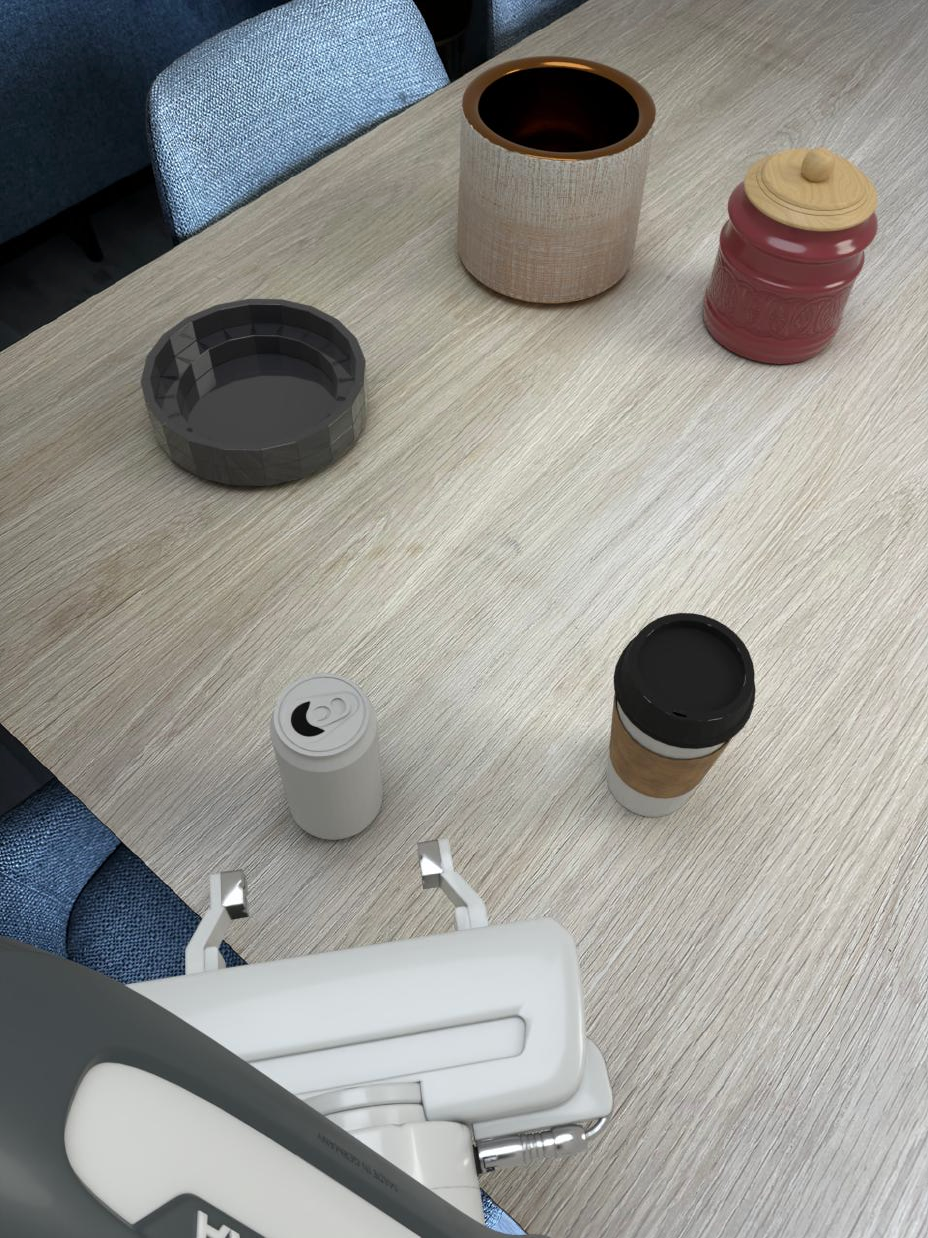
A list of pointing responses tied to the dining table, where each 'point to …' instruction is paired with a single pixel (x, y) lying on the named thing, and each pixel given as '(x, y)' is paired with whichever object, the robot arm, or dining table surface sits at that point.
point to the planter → (552, 176)
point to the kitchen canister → (789, 255)
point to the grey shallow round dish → (256, 391)
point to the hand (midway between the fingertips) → (331, 859)
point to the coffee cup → (675, 709)
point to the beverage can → (328, 755)
